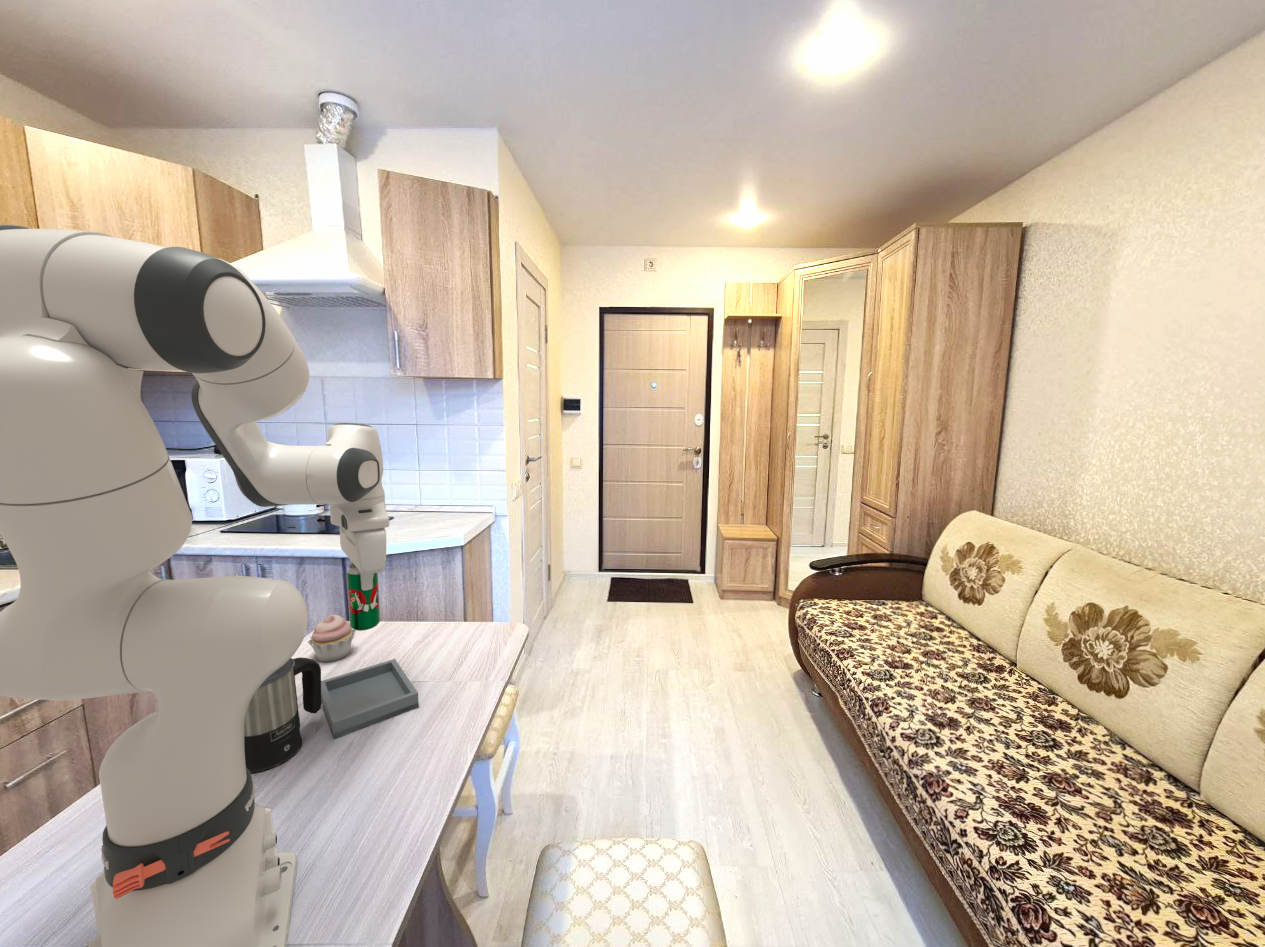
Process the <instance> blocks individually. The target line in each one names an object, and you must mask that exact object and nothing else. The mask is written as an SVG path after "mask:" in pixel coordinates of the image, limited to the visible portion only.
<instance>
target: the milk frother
mask: <svg viewBox="0 0 1265 947" xmlns="http://www.w3.org/2000/svg"><path fill="white" fill-rule="evenodd" d="M298 674H301V684H302V703H303V704H302V705H303V711H305V712H307V713H310V714H317V713H318V712H320V710H321V708H322V703H321V681H322V669H321V665H320V664H319V662H317V661H316V660H313V659H311V658H308V657H294V658H293V657H291V658H290V659H289V660H288V661H287V662H286V663H285V664H284V665H283V666H282V667H280V668H279V669H278V670H276V671H275V672H274V673H272V674H271V675H270V676H269V677H268V678H267V679H266V680H265V681H264V682H263V683H262V684H261V685H260V687H259V688H258V689H257V691H256V692H255V693H254V695H253V697H252V699H251V701H250V703H249V706H248V708H247V712H246V716H245V724H244V747H245V763H246V768H248V770H249V771H250V773H251V774H255V773H261V772H264V771H268V770H271V769H273V768H275V767H277V766H280V765H281V764H283V763H285V762H287V761H289V759H291V758H292V757H294V755H296V754H297V753H298V751H299V750H300V749H301V748H302V746H303V737H302V735H301V728H300V727H301V720H300V713H299V704H298V696H297V695H298V694H297V693H298V692H297V685H296V676H297V675H298Z"/></svg>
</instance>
